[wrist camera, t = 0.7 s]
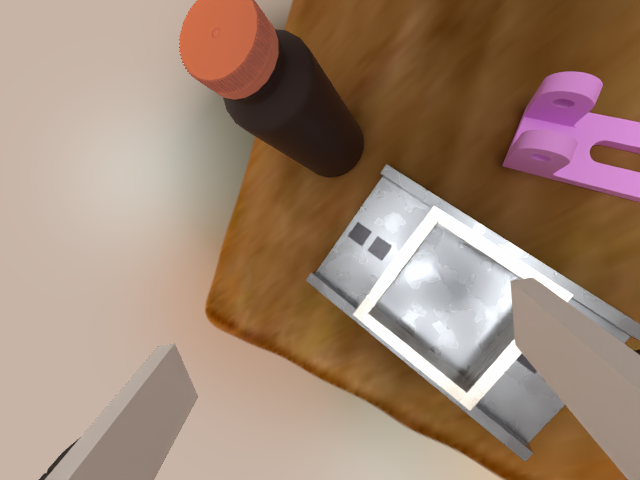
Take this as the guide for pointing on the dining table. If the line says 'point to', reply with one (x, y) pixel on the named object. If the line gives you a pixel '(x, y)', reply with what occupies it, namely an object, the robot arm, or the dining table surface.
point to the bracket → (573, 137)
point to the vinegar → (270, 84)
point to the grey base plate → (451, 304)
